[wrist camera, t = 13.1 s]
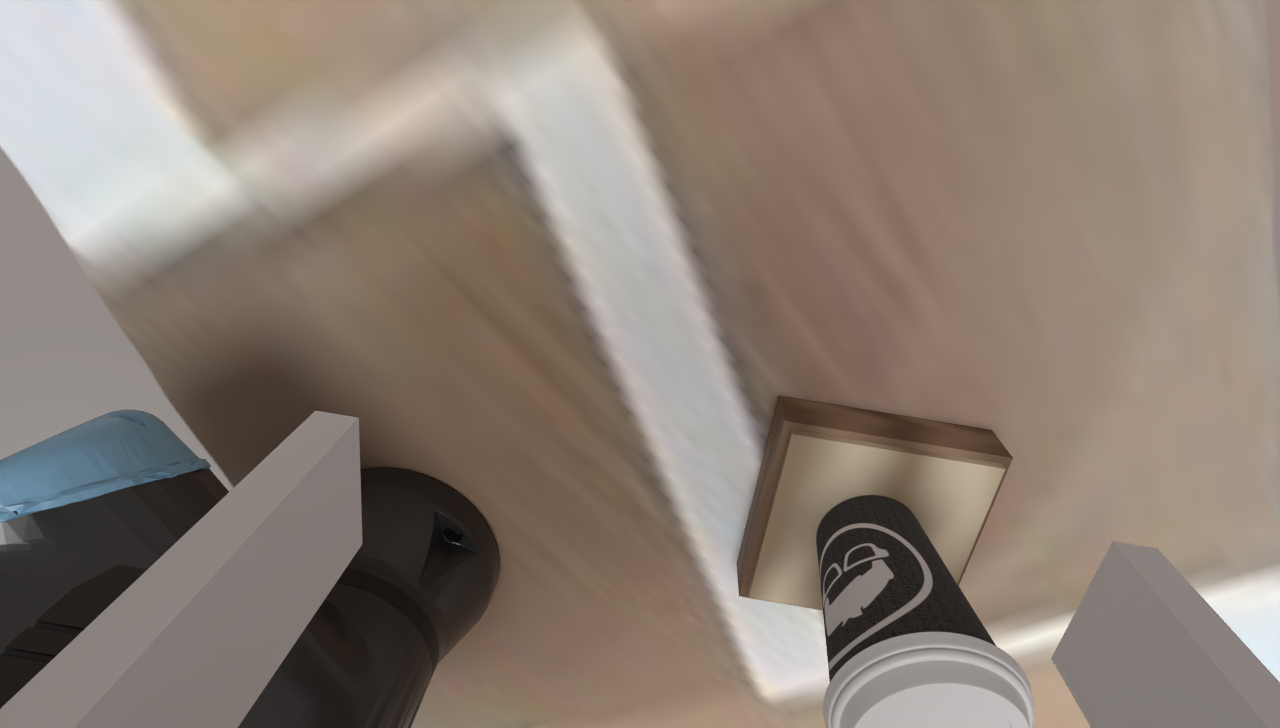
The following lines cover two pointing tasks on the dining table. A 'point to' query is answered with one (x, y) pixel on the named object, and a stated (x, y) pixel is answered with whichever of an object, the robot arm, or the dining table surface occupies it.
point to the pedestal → (861, 489)
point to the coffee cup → (906, 630)
